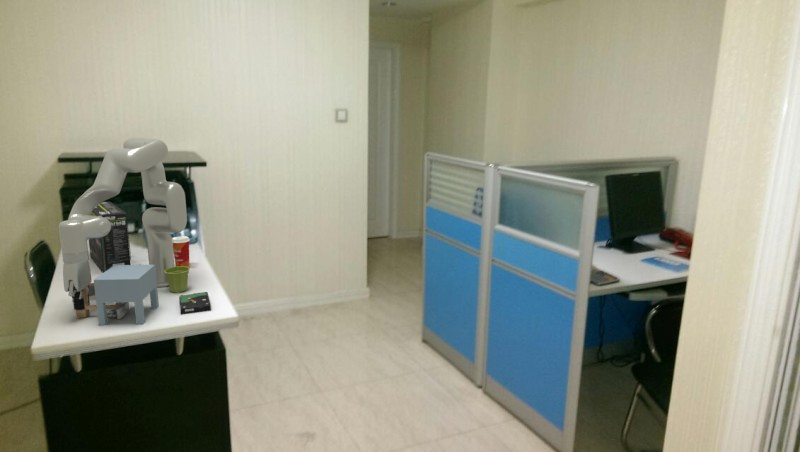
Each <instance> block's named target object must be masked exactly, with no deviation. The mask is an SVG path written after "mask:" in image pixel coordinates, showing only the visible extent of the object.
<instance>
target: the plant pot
mask: <svg viewBox="0 0 800 452" xmlns="http://www.w3.org/2000/svg"><path fill="white" fill-rule="evenodd" d="M164 272H165V273H166V276H167V279H168V282H169V286H168V287H169V290H170V292H172V293H174V294H175V293H176V294H178V293H183V292H186V291H187V290H188V279H189V278H188V277H189V274H190V266H189V267H185V266H177V267H176V266H175V267H171V268H168V269H166V270H164Z"/></svg>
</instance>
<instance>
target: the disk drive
mask: <svg viewBox="0 0 800 452" xmlns="http://www.w3.org/2000/svg"><path fill="white" fill-rule="evenodd" d="M208 293H209V292H208V291H204V292H203V291H202V292H195V293H191V294H181V295H179V296H178V298H179V300H178V301H179V308H180V309H179V311H180V315H187V314H188V315H189V314H195V313H201V312H202V313H203V312H204V313H205V312H211V311H212V305H211V301H210V296H209V294H208Z"/></svg>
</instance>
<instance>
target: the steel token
mask: <svg viewBox="0 0 800 452" xmlns="http://www.w3.org/2000/svg"><path fill="white" fill-rule="evenodd" d="M107 319H111V320H114V319H118V318H117V309H109V310H108V311H107Z"/></svg>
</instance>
